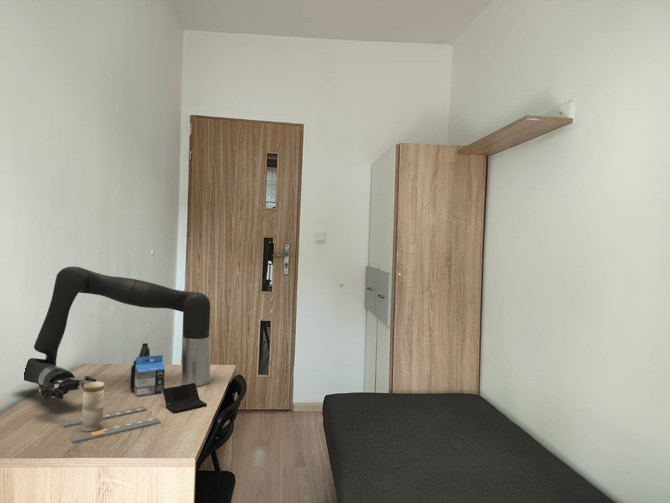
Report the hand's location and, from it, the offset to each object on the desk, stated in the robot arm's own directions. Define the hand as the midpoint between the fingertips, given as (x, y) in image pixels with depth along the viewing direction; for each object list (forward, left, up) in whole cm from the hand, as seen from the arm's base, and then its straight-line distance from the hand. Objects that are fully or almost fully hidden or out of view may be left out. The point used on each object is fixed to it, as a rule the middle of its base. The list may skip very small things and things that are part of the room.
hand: (78, 392), depth 129 cm
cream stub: (-2, +9, -7) cm, 12 cm away
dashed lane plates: (-7, +10, -7) cm, 14 cm away
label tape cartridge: (-24, -10, -8) cm, 27 cm away
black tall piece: (-26, -28, -8) cm, 39 cm away
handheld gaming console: (-29, +8, -8) cm, 31 cm away
